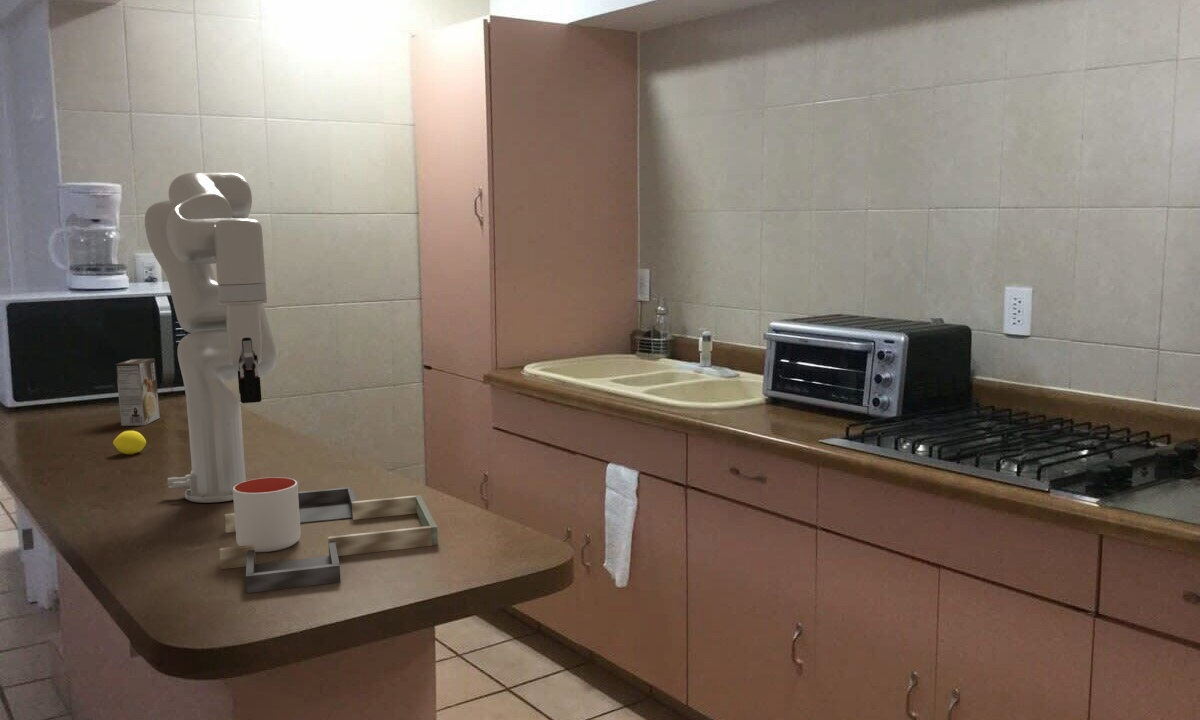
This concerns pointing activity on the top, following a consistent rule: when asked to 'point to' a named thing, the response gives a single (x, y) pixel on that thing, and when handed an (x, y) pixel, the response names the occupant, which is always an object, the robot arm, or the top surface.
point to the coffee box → (137, 392)
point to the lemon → (129, 442)
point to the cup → (267, 513)
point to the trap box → (332, 539)
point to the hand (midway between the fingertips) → (250, 397)
